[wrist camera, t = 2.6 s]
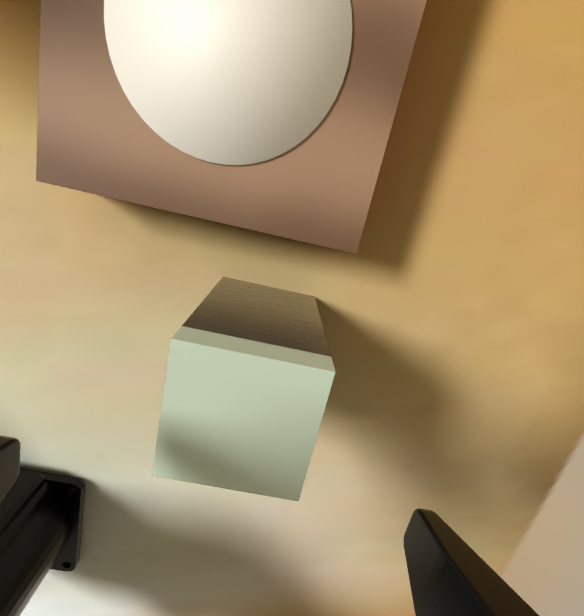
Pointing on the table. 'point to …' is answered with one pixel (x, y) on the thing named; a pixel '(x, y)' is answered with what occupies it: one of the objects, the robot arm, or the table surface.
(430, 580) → the robot arm
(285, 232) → the walnut step
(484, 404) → the table surface
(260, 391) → the metal column
